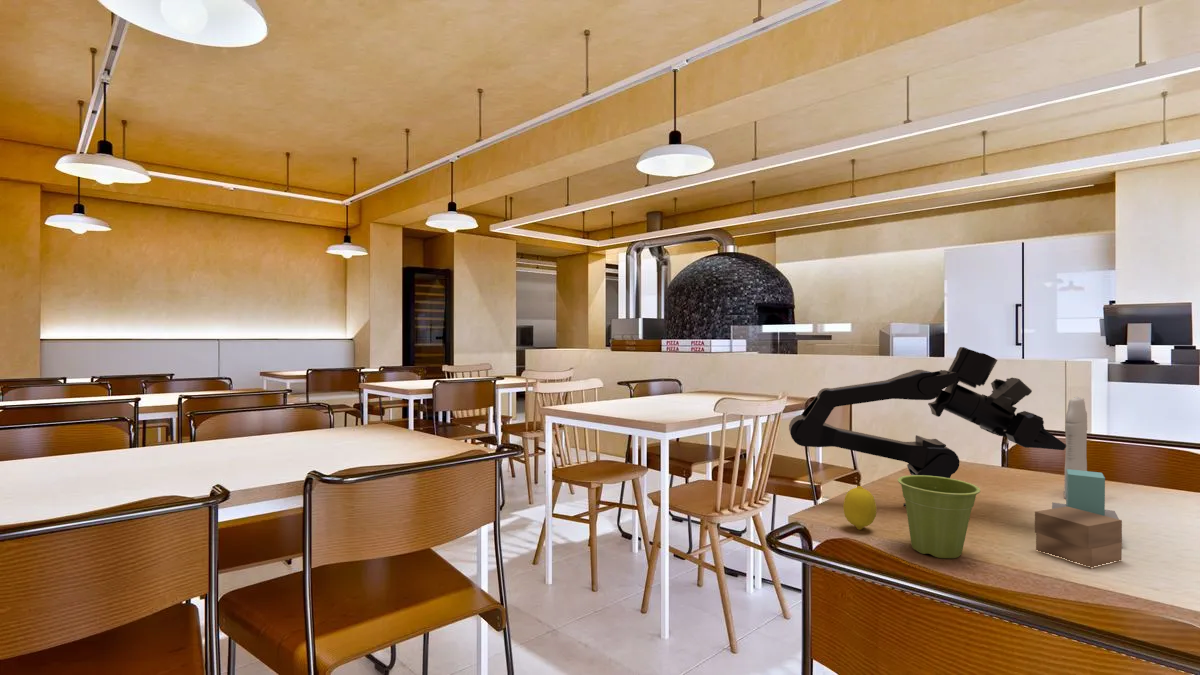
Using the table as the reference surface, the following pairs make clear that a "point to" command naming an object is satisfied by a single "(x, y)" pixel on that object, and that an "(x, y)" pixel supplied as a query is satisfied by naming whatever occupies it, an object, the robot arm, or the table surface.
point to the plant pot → (938, 513)
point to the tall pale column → (1075, 437)
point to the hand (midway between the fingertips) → (1053, 443)
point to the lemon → (859, 507)
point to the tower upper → (1078, 527)
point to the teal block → (1085, 491)
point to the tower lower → (1079, 551)
